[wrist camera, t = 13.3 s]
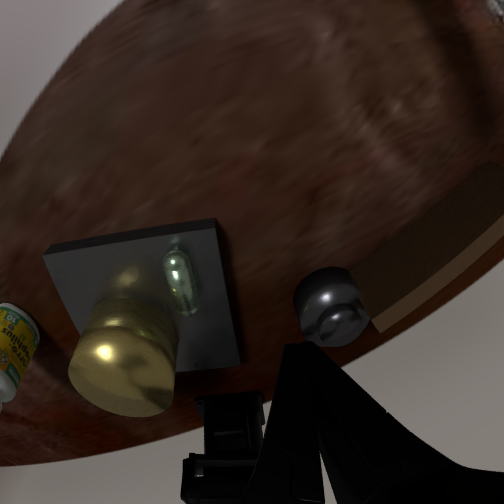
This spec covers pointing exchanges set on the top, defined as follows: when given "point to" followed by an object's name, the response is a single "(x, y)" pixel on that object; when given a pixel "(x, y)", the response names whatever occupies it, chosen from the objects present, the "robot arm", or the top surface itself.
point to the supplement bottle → (15, 348)
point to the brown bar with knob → (404, 265)
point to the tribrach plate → (151, 284)
